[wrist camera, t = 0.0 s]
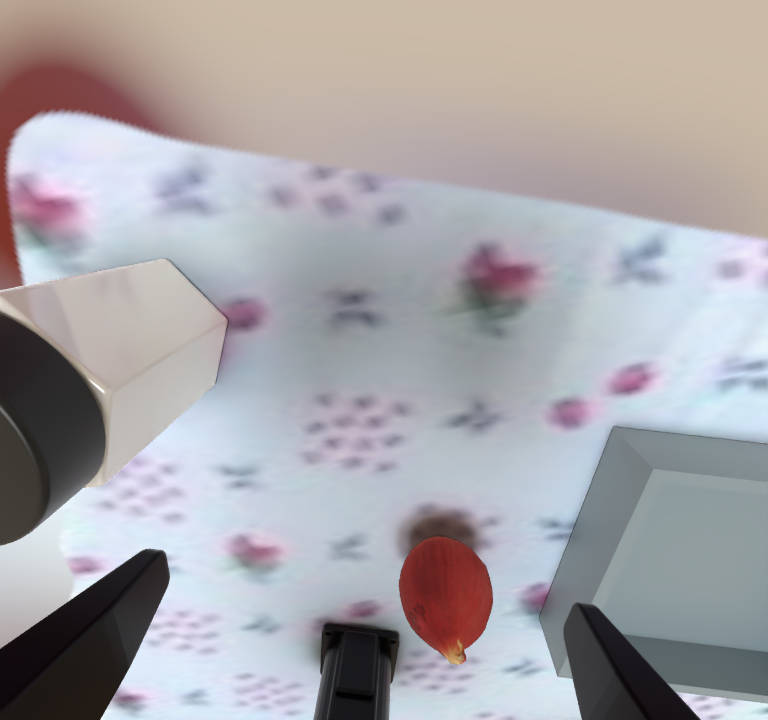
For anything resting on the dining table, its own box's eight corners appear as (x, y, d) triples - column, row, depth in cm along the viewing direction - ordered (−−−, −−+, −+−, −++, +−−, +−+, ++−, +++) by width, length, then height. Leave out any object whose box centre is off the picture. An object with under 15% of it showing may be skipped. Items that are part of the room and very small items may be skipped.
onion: (428, 578, 29) (435, 706, 21) (385, 530, 27) (376, 651, 20) (495, 549, 27) (527, 677, 20) (453, 497, 25) (471, 615, 18)
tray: (767, 646, 29) (819, 710, 25) (538, 618, 29) (557, 676, 26) (913, 460, 22) (1014, 510, 19) (613, 426, 23) (653, 468, 19)
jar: (94, 231, 20) (-292, 258, 9) (239, 284, 21) (44, 369, 10) (87, 371, 23) (-200, 516, 12) (212, 413, 24) (45, 586, 13)
